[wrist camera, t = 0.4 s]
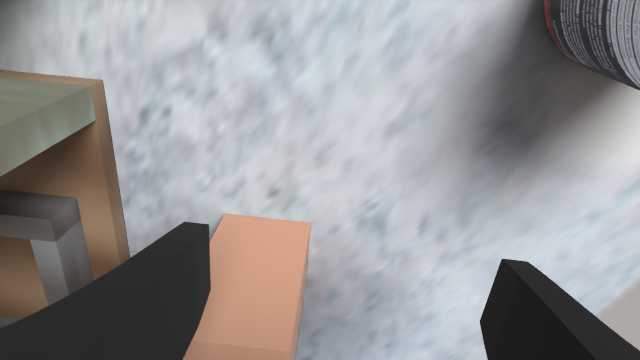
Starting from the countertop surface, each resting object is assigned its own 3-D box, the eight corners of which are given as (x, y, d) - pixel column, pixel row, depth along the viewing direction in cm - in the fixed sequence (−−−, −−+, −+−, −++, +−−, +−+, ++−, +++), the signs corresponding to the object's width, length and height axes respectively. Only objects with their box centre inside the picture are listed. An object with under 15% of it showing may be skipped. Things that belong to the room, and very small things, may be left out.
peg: (305, 289, 23) (284, 432, 16) (226, 281, 23) (171, 418, 16) (310, 222, 21) (290, 351, 14) (224, 213, 21) (161, 336, 14)
